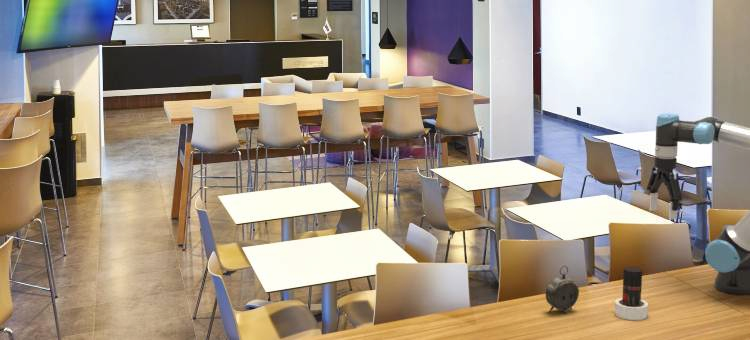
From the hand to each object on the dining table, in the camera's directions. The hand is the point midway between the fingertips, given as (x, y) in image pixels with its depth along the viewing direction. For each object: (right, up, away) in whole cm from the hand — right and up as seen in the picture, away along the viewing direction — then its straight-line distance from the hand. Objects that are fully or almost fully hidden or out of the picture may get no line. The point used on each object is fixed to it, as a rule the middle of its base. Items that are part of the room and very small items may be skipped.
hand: (662, 214), depth 319 cm
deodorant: (-19, -32, -25) cm, 45 cm away
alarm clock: (-41, -32, -21) cm, 56 cm away
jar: (-19, -32, -25) cm, 45 cm away
